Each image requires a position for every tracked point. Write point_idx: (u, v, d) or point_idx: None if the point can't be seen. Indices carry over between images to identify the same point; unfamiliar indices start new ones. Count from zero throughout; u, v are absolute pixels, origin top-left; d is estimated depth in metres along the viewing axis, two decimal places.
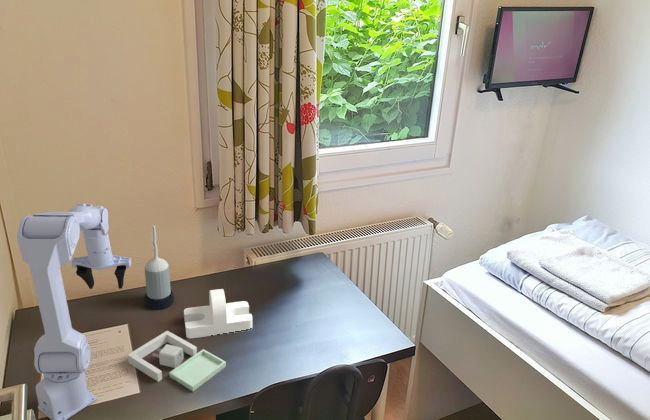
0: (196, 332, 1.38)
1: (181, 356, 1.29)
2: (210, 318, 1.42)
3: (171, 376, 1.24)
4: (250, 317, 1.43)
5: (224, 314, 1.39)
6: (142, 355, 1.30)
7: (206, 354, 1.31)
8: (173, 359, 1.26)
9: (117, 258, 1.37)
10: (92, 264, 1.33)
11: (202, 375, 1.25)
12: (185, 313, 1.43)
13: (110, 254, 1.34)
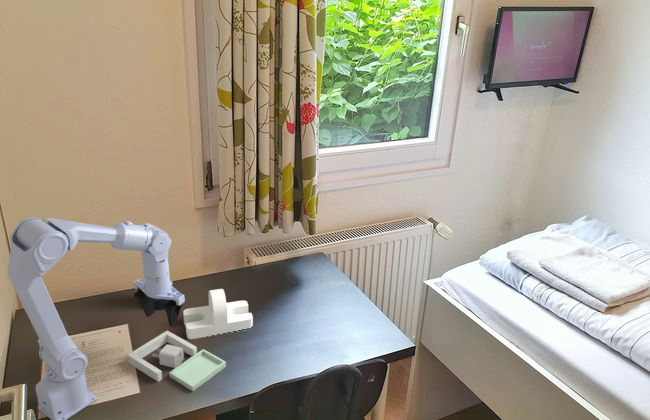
0: (197, 333, 1.38)
1: (181, 356, 1.29)
2: (211, 318, 1.42)
3: (171, 376, 1.24)
4: (250, 316, 1.44)
5: (225, 313, 1.39)
6: (142, 355, 1.30)
7: (206, 354, 1.31)
8: (173, 359, 1.26)
9: (173, 292, 1.25)
10: (146, 289, 1.24)
11: (202, 375, 1.25)
12: (185, 314, 1.43)
13: (165, 284, 1.23)
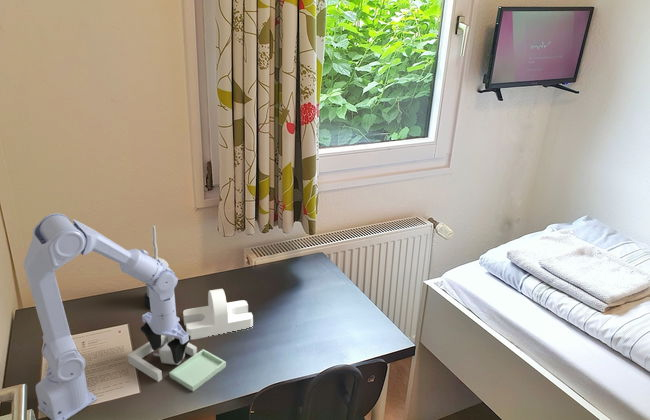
0: (197, 333, 1.38)
1: None
2: (211, 318, 1.42)
3: (171, 376, 1.24)
4: (250, 315, 1.44)
5: (225, 313, 1.39)
6: (142, 355, 1.30)
7: (206, 354, 1.31)
8: None
9: (179, 329, 1.25)
10: (152, 325, 1.24)
11: (202, 375, 1.25)
12: (185, 314, 1.42)
13: (170, 322, 1.23)
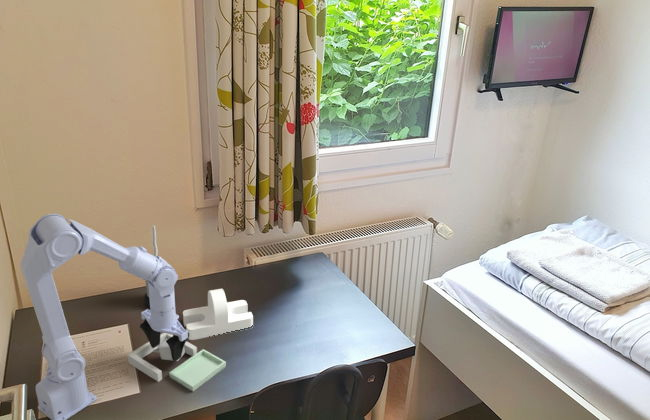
0: (198, 334, 1.38)
1: None
2: (211, 318, 1.42)
3: (171, 376, 1.24)
4: (250, 315, 1.44)
5: (226, 313, 1.39)
6: (142, 355, 1.30)
7: (206, 354, 1.31)
8: None
9: (178, 326, 1.24)
10: (151, 322, 1.23)
11: (202, 375, 1.25)
12: (184, 315, 1.42)
13: (169, 319, 1.22)
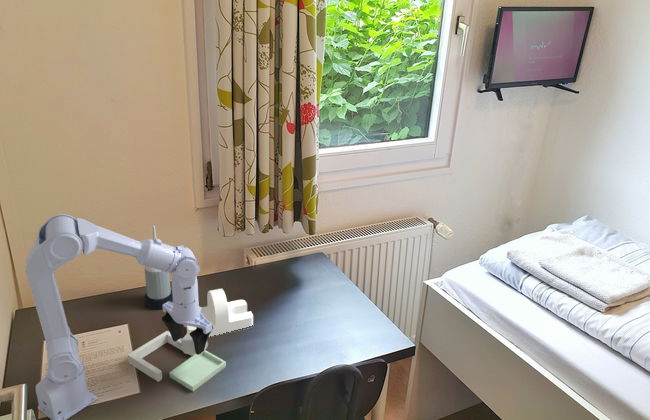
0: None
1: None
2: (211, 318, 1.42)
3: (171, 376, 1.24)
4: (250, 314, 1.44)
5: (226, 313, 1.39)
6: (142, 355, 1.30)
7: (206, 354, 1.31)
8: None
9: (201, 319, 1.20)
10: (174, 314, 1.19)
11: (202, 375, 1.25)
12: None
13: (193, 311, 1.18)
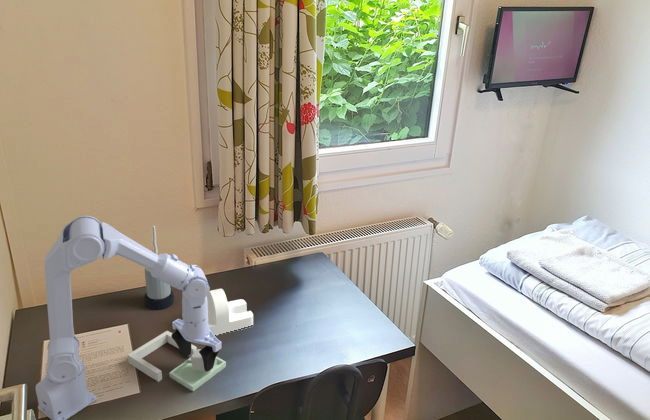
0: None
1: None
2: (211, 318, 1.41)
3: (171, 376, 1.24)
4: (250, 314, 1.44)
5: (227, 313, 1.39)
6: (142, 355, 1.30)
7: None
8: None
9: (211, 336, 1.21)
10: (184, 332, 1.21)
11: (202, 375, 1.25)
12: None
13: (202, 329, 1.19)
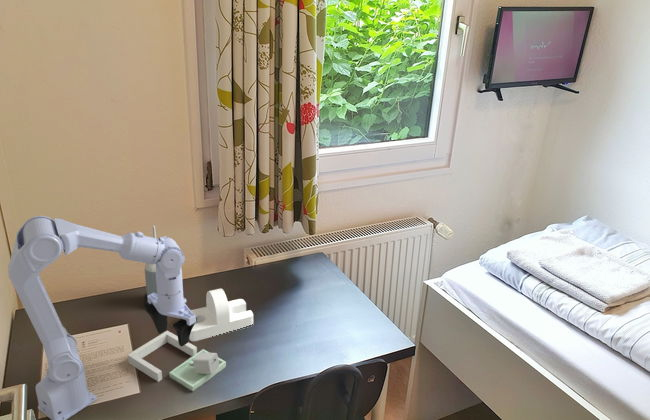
0: (200, 334, 1.38)
1: (216, 362, 1.25)
2: (212, 318, 1.41)
3: (171, 376, 1.24)
4: (250, 313, 1.45)
5: (227, 312, 1.39)
6: (142, 355, 1.30)
7: None
8: (207, 364, 1.22)
9: (186, 310, 1.19)
10: (158, 305, 1.18)
11: (202, 375, 1.25)
12: None
13: (177, 302, 1.17)
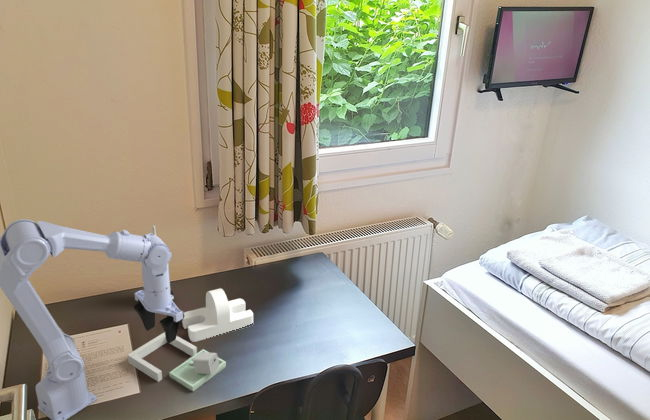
0: (201, 335, 1.37)
1: (216, 362, 1.25)
2: (212, 318, 1.41)
3: (171, 376, 1.24)
4: (250, 312, 1.45)
5: (227, 312, 1.39)
6: (142, 355, 1.30)
7: None
8: (207, 364, 1.22)
9: (173, 307, 1.19)
10: (145, 302, 1.19)
11: (202, 375, 1.25)
12: (184, 317, 1.41)
13: (163, 299, 1.17)
